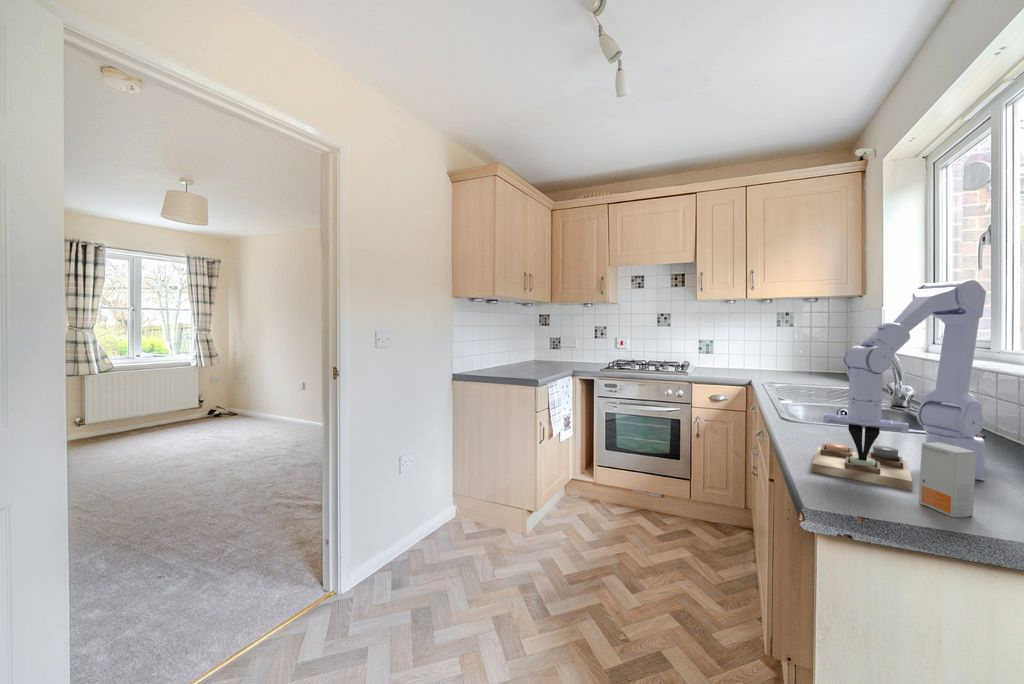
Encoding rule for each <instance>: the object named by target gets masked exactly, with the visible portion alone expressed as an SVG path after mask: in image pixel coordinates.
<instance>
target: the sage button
mask: <svg viewBox="0 0 1024 684" xmlns="http://www.w3.org/2000/svg"><path fill="white" fill-rule="evenodd" d="M850 463H851V464H857V465H863V466H868V467H874V468H875V460H873V459H871V458H867V461H864V460H859V459H858V456H851V457H850Z"/></svg>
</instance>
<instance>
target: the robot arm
mask: <svg viewBox="0 0 1024 684" xmlns="http://www.w3.org/2000/svg"><path fill="white" fill-rule="evenodd" d="M986 295H987V291H986V290H985V289H984V287H983V286H982V285H981V284H980V282H978V281H977V280H975V279H966V280H959V281H958V280H957V281H946V282H926V283H922V284H920V285H919V286H918V288H916V290H914V291H913V292H912V300H911V301H910V302H909V304H908V305H907V306H906V307H905V308H904V309H903V310H902V311H901V312H900V314H899V315H898V316H897V317H896V318H895V319H894V320H893V321H892V322H885V323H880V324H879V325H878V326H877V327H876V328H877V329H876V330H875V331H874V332H873V333H871V335H869V336H868V337H866V338H865V339H864V340H863V341H862V342H861V344H859V345H854V346H852V347H850V348H849V349H847V351H846V352H845V354H844V357H842V364H843V366H844V367H845V368H846V376H847V377H848V378H849V379H848V402H847V403H848V404H847V405H848V407H847V409H848V410H847V415H844V414H831V413H823V424H827V425H828V424H829V425H830V424H833V425H841V426H848V428H847V429H848V432H849V434H850V436H851V438H852V440H853V443H854V445H855V448H856V453H858V459H859V460H864V461H867V456H868V453H869V452H870V450H871V448H872V447H873V444H874V443H875V441H876V439H877V438H878V437H879V435H880V430H881V431H889V432H896V433H897V432H898V433H899V432H900V433H902V434H906V435H907V434H909V426H910V425H909V424H910V423H908V422H902V421H896V420H889V419H882V408H883V407H882V405H883V401H882V400H883V381H884V379H883V378H884V373H885V372H886V371H888V370H890V368H891V366H892V361H893V359H894V358H895V355H896V353H897V352H898V351H899V350H900V349H901V348H902V347H903V346H904V345H906V344H907V342H909V340H910V339H911V333H910V332H911V331H912V330H913V329H915V328H916V327H917V326H918V325H920V324H921V323H922V322H923V321H925V320H926V319H927V318H928V317H930V316H932V317H934V318H935V319H938V320H940V321H941V322H942V323H943V324H944V327H943V328H944V330H943V336H942V341H941V342H942V343H941V348H940V349H941V350H940V356H939V364H938V370H937V374H936V375H937V376H936V382H935V388H934V390H932V391H930V392H928V393H926V394H924V395H923V396H922V399H921V403H920V404H919V407H918V408H917V410H916V419H917V422H918V423H919V425H921V426H922V430H924V431H925V443H938V442H940V443H944V444H948V445H952V446H957V447H961V448H964V449H967V450H971V451H975V452H976V453H977V455H976V469H975V480H978V481H985V469H986V467H985V463H986V442H985V440H984V438H983V437H980V436H978V437H975V435H977V434H978V435H979V433H980V432H981V431H982V430H983V428H984V425H985V420H984V417H983V404H982V403H981V402H980V401H978V400H977V399H975V397H973V396H972V395H970V394H969V389H970V384H971V383H970V382H971V377H972V375H971V374H972V370H973V363H974V356H975V350H976V343H977V337H978V330H979V323H980V319H981V318H982V317H983V315H984V309H985V302H986ZM951 404H953V405H951ZM863 429H864V441H863ZM863 442H864V443H863Z"/></svg>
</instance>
